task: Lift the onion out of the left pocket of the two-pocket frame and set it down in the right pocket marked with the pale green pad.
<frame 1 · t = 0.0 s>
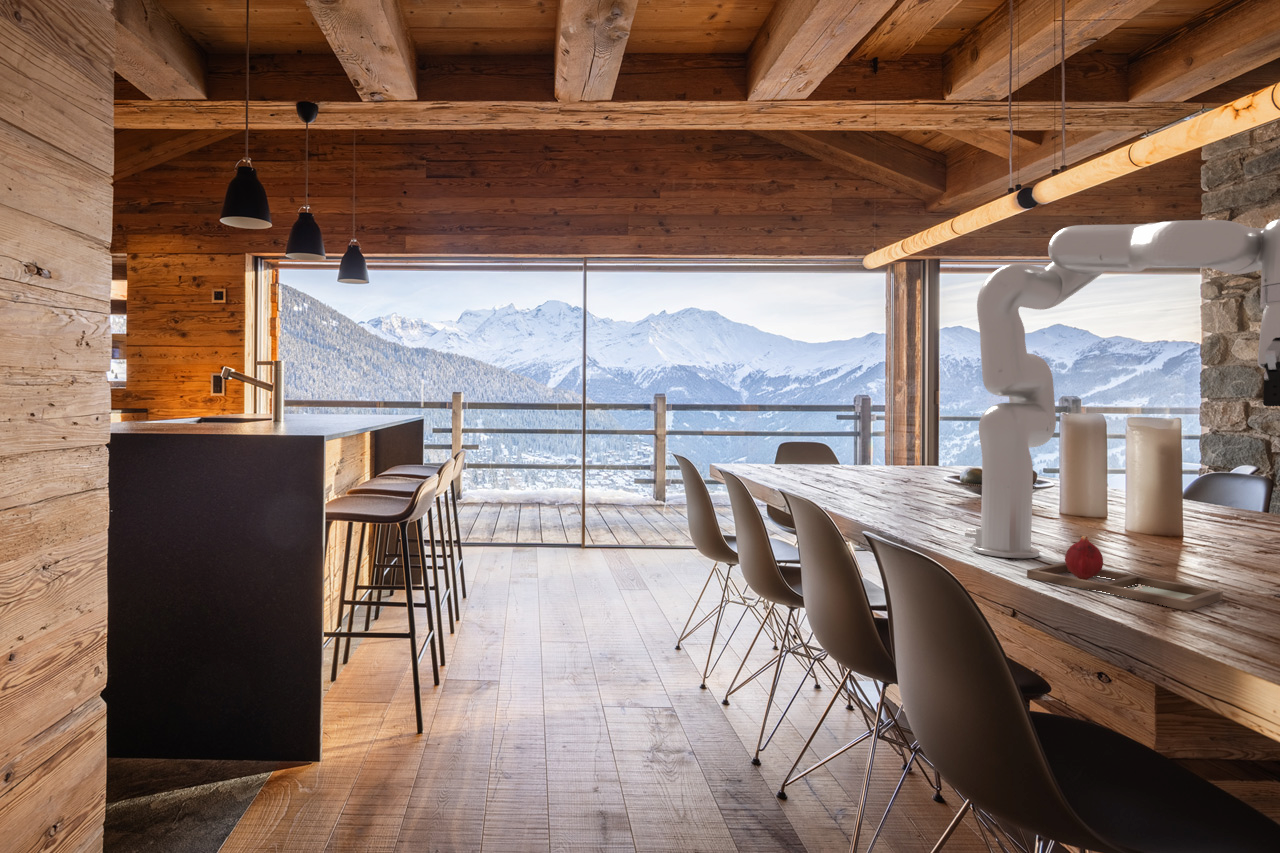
onion: (1083, 582, 128), resting in rail frame
rail frame: (1119, 588, 123), on the table
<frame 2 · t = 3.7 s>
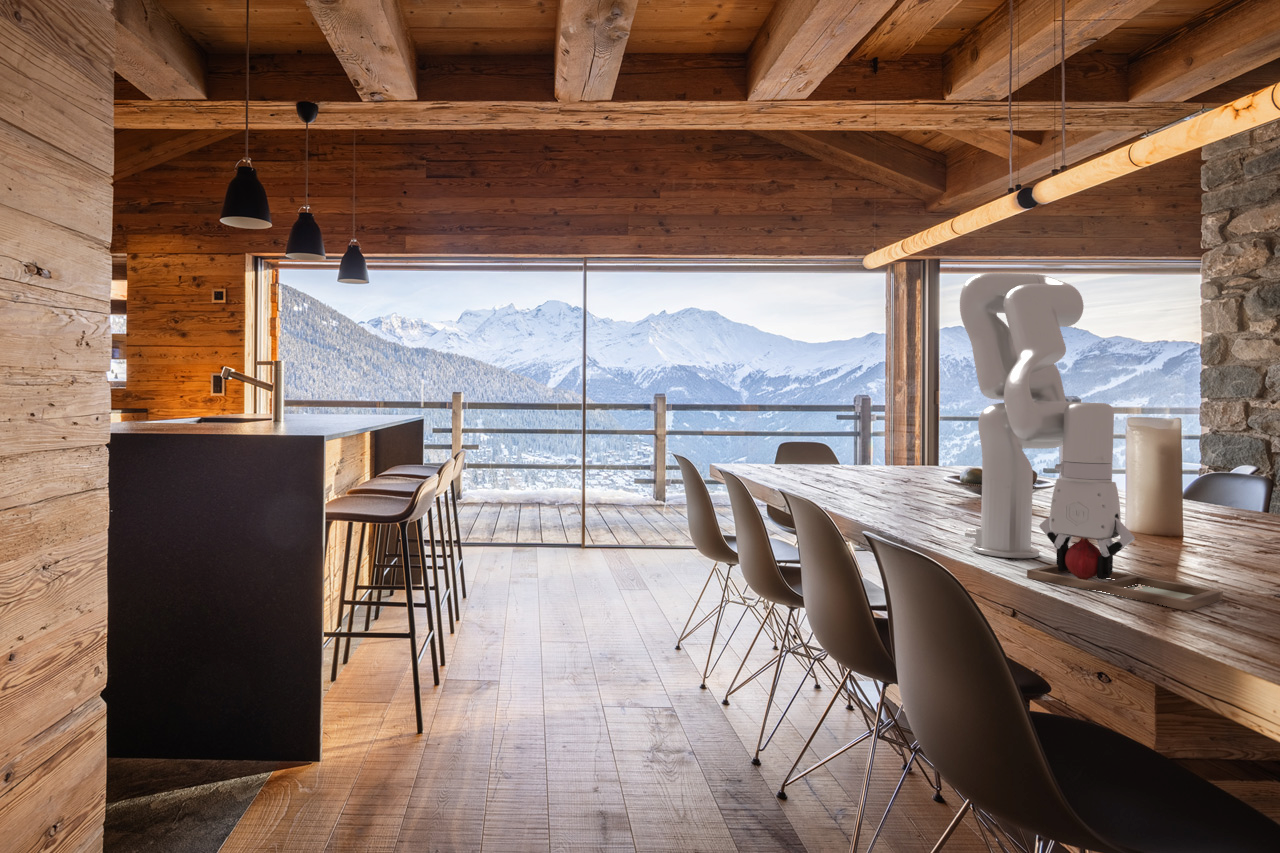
hand: (1083, 573, 128), 1 cm above the table, tool pointing down, fingers closed on onion, 5 cm apart
onion: (1083, 582, 128), resting in rail frame, touching gripper
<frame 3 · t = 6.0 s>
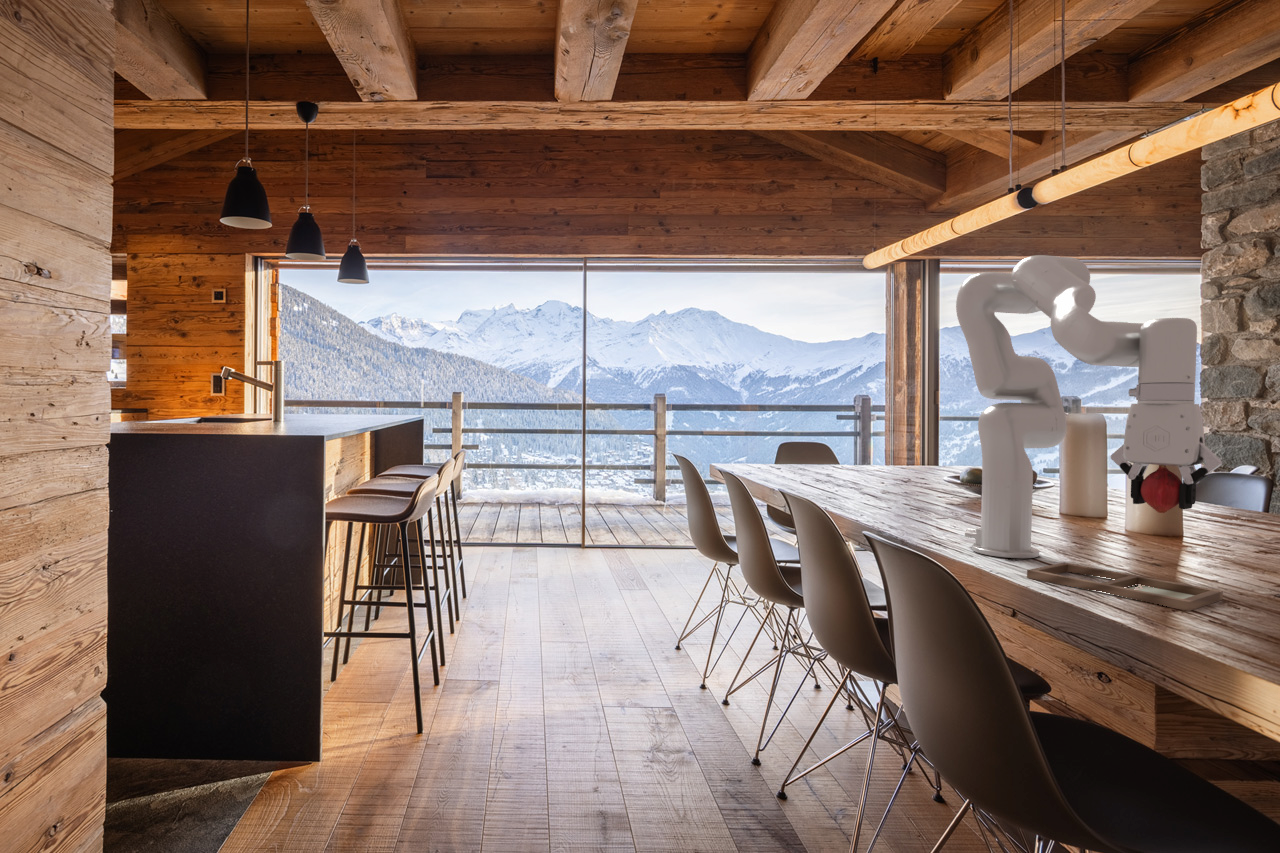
hand: (1161, 504, 118), 15 cm above the table, tool pointing down, fingers closed on onion, 5 cm apart
onion: (1161, 514, 118), point 13 cm above the table, touching gripper
when the fingers open (2 cm above the table, at t = 8.6 s): onion stays where it is, resting on rail frame.
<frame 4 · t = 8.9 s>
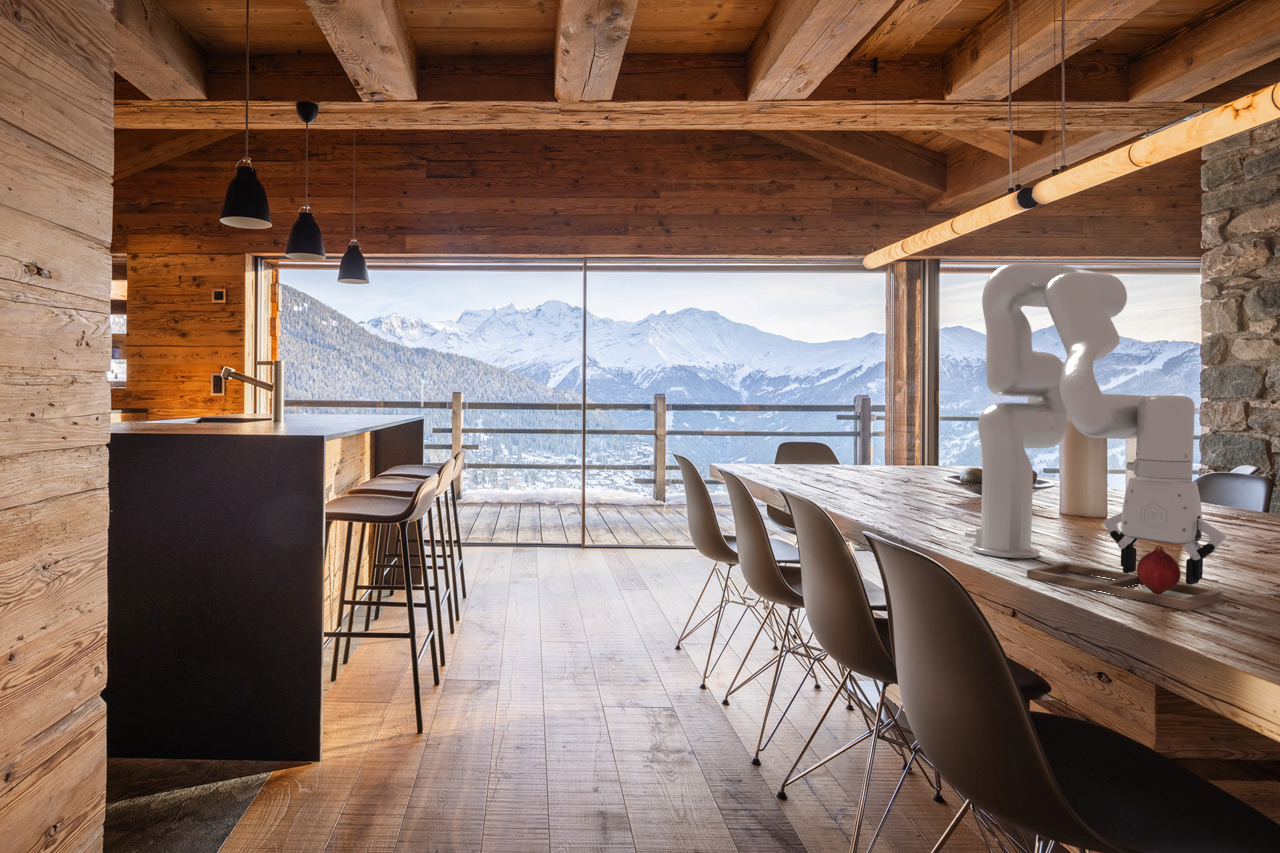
hand: (1159, 577, 118), 3 cm above the table, tool pointing down, fingers open, 8 cm apart
onion: (1157, 595, 118), resting on rail frame
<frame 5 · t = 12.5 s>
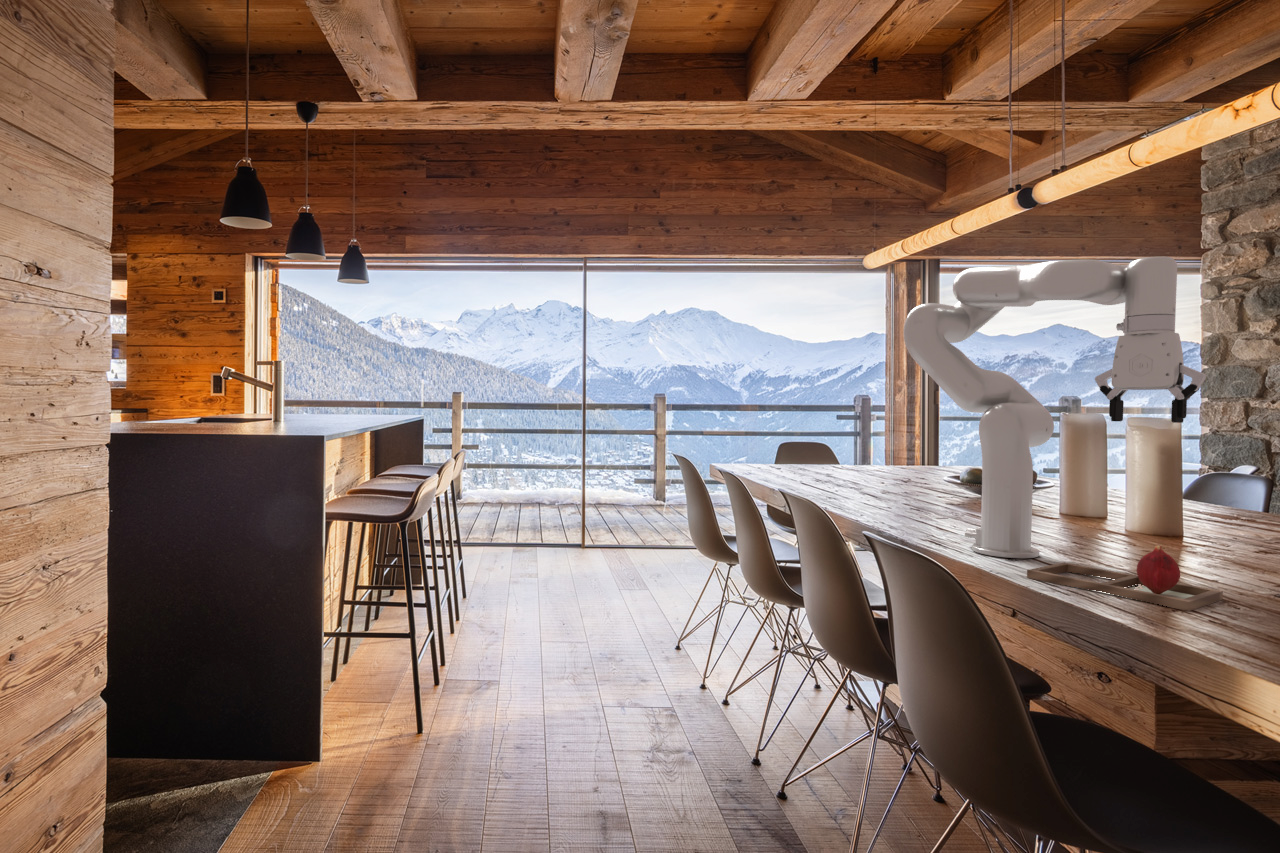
hand: (1146, 421, 131), 28 cm above the table, tool pointing down, fingers open, 9 cm apart
nothing on the table moved.
at the end: onion inside the target area on the rail frame (0.2 cm from its centre), point 0.0 cm above the rail frame's base; onion moved 11.4 cm from its start; the gripper is holding nothing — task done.
